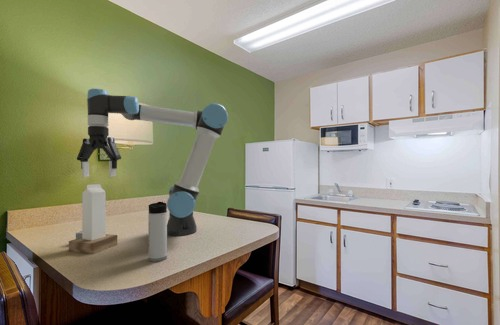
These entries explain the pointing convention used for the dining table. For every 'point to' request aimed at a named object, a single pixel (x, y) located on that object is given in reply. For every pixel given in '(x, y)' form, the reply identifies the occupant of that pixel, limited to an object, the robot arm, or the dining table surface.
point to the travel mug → (157, 231)
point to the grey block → (79, 235)
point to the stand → (92, 244)
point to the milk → (93, 212)
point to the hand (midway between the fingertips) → (99, 176)
